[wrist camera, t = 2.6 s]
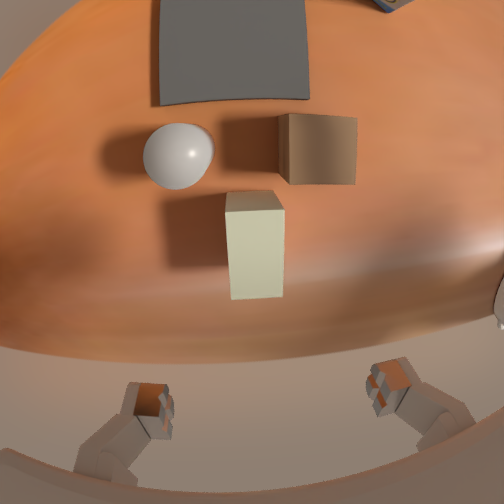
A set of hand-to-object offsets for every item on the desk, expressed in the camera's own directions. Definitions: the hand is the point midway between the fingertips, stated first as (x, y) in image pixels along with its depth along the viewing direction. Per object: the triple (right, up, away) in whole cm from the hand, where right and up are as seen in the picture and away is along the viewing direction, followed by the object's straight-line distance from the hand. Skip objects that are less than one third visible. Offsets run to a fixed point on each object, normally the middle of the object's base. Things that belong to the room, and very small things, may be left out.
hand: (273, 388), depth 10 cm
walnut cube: (+4, +14, +13) cm, 20 cm away
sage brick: (-1, +7, +16) cm, 18 cm away
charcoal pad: (-2, +23, +9) cm, 24 cm away
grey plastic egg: (-6, +14, +13) cm, 20 cm away
